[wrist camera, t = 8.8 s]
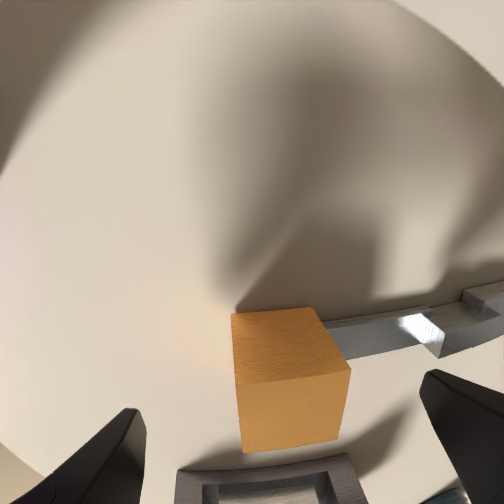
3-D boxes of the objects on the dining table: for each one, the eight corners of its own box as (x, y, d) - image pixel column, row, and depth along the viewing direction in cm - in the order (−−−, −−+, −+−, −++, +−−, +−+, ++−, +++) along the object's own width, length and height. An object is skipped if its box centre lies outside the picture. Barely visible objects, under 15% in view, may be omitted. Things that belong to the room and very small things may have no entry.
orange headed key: (547, 264, 12) (587, 282, 8) (538, 305, 13) (574, 327, 9) (230, 313, 11) (235, 384, 7) (236, 377, 11) (243, 453, 8)
